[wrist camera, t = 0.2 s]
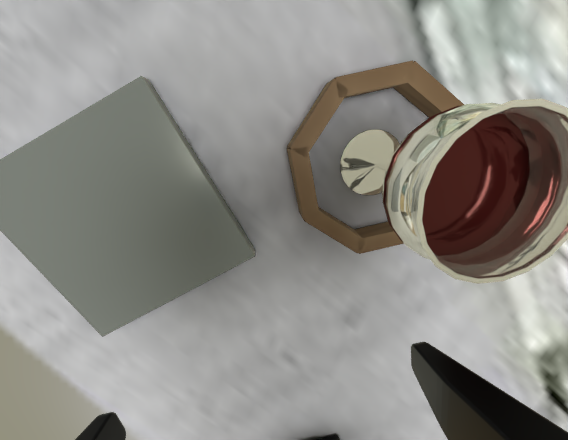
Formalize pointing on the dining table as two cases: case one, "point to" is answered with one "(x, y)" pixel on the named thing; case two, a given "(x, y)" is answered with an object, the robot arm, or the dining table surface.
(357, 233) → the ring holder
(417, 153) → the wineglass
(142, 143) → the slate board
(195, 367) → the dining table surface
